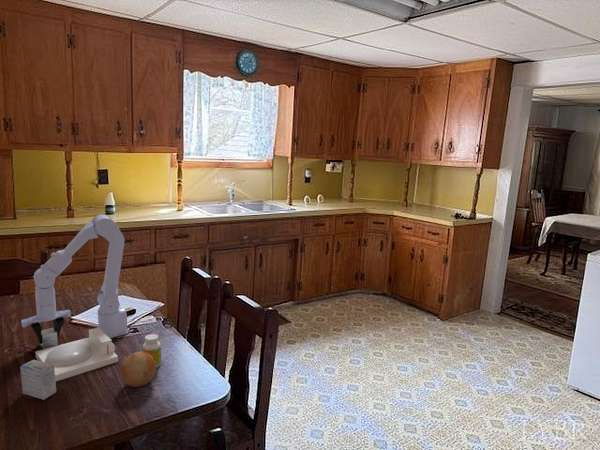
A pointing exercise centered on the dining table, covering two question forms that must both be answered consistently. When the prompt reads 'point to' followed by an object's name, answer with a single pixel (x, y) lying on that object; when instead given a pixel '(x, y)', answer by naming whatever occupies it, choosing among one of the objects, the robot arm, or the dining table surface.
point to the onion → (138, 369)
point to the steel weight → (49, 338)
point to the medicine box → (38, 379)
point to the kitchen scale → (80, 355)
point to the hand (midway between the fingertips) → (48, 340)
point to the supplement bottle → (153, 348)
